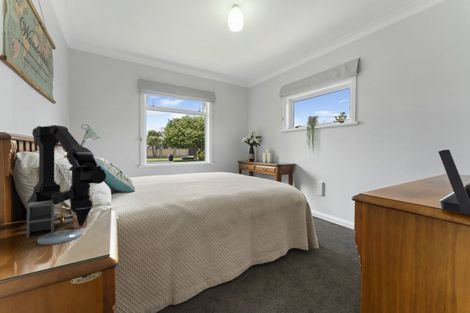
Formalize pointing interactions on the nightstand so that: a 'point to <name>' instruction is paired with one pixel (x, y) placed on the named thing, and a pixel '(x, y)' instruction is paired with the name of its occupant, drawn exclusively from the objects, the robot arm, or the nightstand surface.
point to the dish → (59, 237)
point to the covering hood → (40, 209)
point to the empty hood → (40, 224)
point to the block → (76, 225)
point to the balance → (62, 220)
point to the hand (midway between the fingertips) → (80, 222)
